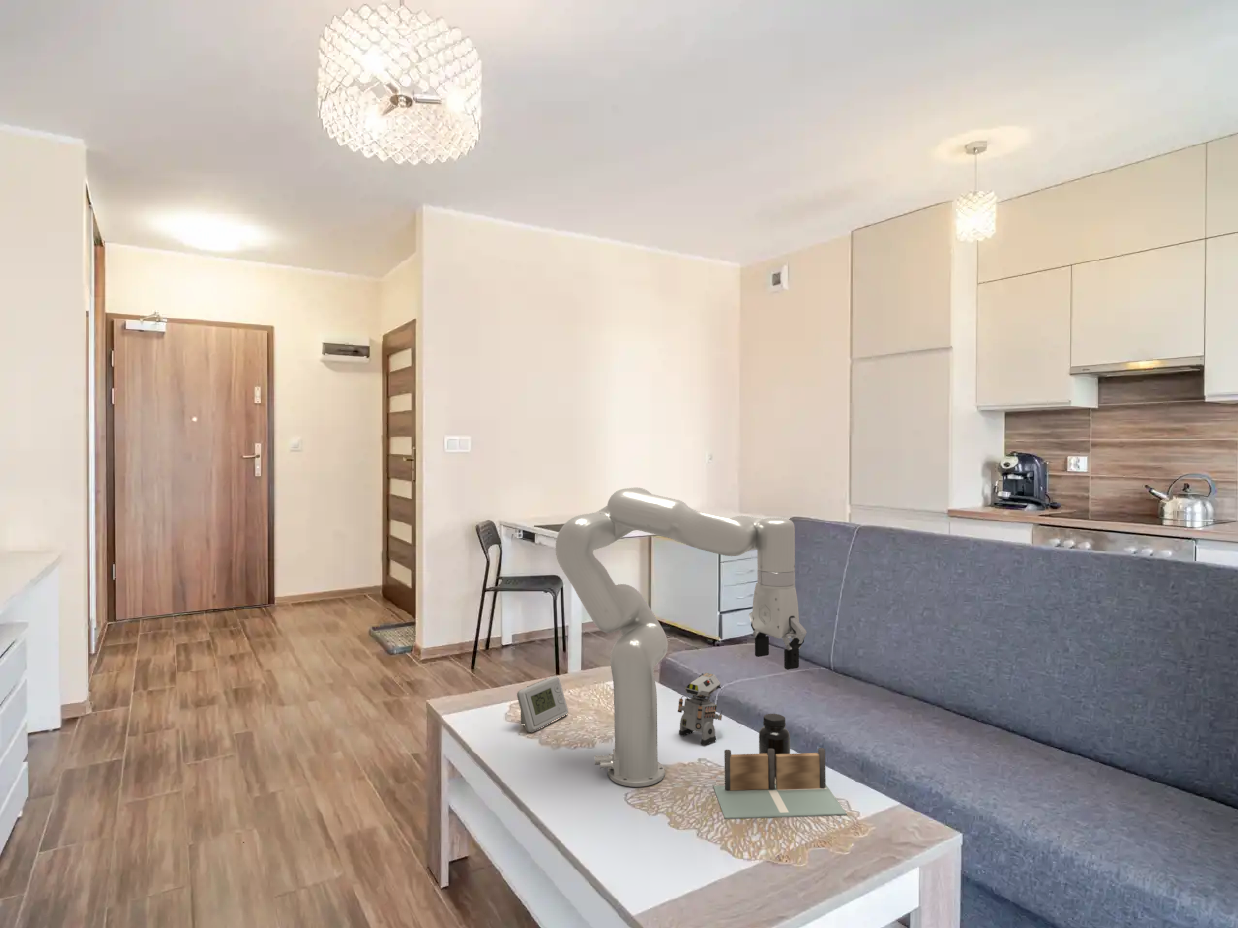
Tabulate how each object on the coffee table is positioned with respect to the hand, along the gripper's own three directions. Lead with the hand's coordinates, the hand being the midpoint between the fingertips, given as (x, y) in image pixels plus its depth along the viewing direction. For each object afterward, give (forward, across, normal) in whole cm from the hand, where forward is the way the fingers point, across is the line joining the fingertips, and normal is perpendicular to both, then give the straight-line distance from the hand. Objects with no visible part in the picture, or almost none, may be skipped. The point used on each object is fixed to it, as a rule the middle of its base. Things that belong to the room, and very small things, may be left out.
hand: (776, 661), depth 142 cm
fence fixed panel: (+28, -1, +7) cm, 29 cm away
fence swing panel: (+28, -5, -3) cm, 28 cm away
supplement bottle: (+28, -10, +8) cm, 31 cm away
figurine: (+29, -34, +3) cm, 44 cm away
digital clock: (+29, -61, -30) cm, 74 cm away
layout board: (+28, +1, 0) cm, 28 cm away
